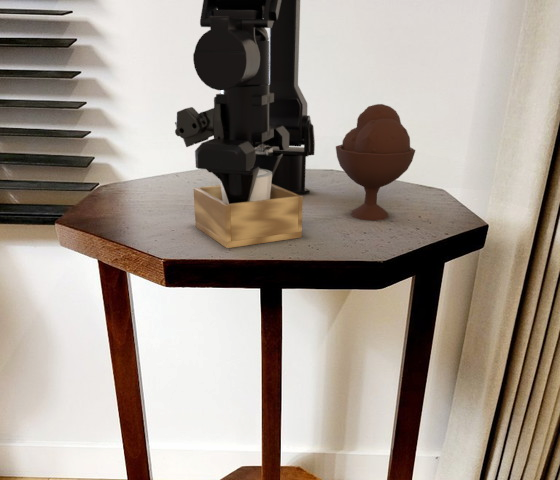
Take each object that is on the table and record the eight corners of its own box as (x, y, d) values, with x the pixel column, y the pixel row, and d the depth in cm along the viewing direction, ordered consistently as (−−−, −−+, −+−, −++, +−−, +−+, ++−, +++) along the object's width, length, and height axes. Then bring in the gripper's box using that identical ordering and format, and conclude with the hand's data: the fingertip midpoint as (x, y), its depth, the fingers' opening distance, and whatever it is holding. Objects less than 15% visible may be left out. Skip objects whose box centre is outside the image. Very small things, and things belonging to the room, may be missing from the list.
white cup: (266, 234, 77) (266, 178, 73) (214, 231, 78) (212, 175, 75) (277, 220, 83) (277, 168, 79) (228, 217, 84) (227, 165, 80)
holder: (264, 218, 87) (264, 180, 84) (301, 237, 79) (303, 196, 76) (195, 226, 83) (193, 187, 80) (226, 248, 74) (225, 205, 72)
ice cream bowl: (319, 210, 91) (324, 102, 84) (382, 204, 95) (392, 100, 88) (354, 228, 83) (362, 110, 75) (421, 220, 87) (436, 107, 79)
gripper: (212, 77, 82) (217, 194, 89) (147, 87, 66) (160, 227, 74) (291, 80, 79) (289, 200, 87) (243, 91, 63) (245, 236, 71)
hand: (247, 214), depth 80 cm, fingers closed on white cup, 6 cm apart
